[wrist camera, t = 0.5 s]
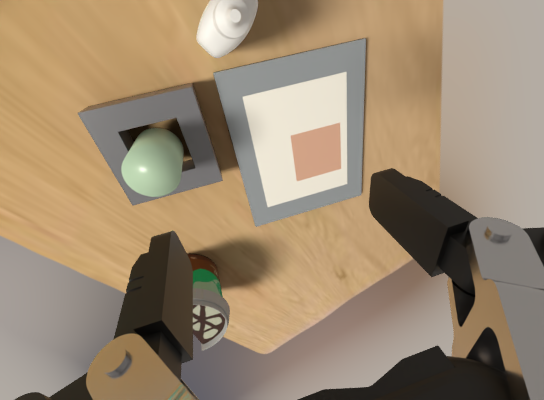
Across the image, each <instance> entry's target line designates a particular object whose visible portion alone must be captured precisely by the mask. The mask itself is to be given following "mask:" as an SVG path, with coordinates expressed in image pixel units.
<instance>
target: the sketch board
mask: <svg viewBox="0 0 544 400" xmlns="http://www.w3.org/2000/svg"><path fill="white" fill-rule="evenodd" d="M365 51H366V39H359V40H355V41H350V42H346V43H341V44H337V45H333V46H328V47H324V48H319V49H315V50H311V51H306V52H302V53H297V54H293V55H289V56H284V57H280V58H275V59H271V60H267V61H262V62H258V63H253V64H249V65H245V66H240V67H236V68H231V69H227V70H223V71H218V72H214V73H213V74H214V78H215V82H216V85H217V89H218V92H219V96H220V100H221V103H222V107H223V110H224V114H225V118H226V121H227V125H228V129H229V132H230V136H231V139H232V143H233V147H234V150H235V154H236V158H237V161H238V165H239V168H240V172H241V176H242V179H243V183H244V186H245V190H246V194H247V197H248V201H249V205H250V208H251V212H252V215H253V219H254V223H255V226H256V227H257V226H260V225H263V224H267V223H270V222H273V221H277V220H280V219H283V218H287V217H290V216H293V215H297V214H300V213H303V212H307V211H310V210H313V209H317V208H320V207H323V206H326V205H330V204H333V203H336V202H340V201H343V200H346V199H350V198H353V197H356V196H360V195H361V187H362V153H363V119H364V85H365Z"/></svg>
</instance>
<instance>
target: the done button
mask: <svg viewBox="0 0 544 400" xmlns="http://www.w3.org/2000/svg"><path fill="white" fill-rule="evenodd" d="M183 156H184V148H183V145H182V142H181V141H180V139H179V138H178V137H177V136H176V135H175V134H174V133H172V132H171V131H169V130H167V129H163V128H150V129H147V130H145V131H143V132H142V133H140V134H139V136H138V137H137V139H136V140H135V142H134V144H133V145H132V147H131V149H130V150H129V152H128V153H127V155H126V157H125V158H124V160H123V163H122V167H121V171H122V176H123V178H124V180H125V182H126V183H127V185H128V186H129V187H130V188H131V189H133V190H134V191H136V192H137V193H140V194H142V195H145V196H150V197H159V196H164V195H167V194H169V193H171V192H172V191H174V190H175V189H176V188H177V186H178V185H179V183H180V180H181V174H182V165H183Z"/></svg>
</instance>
